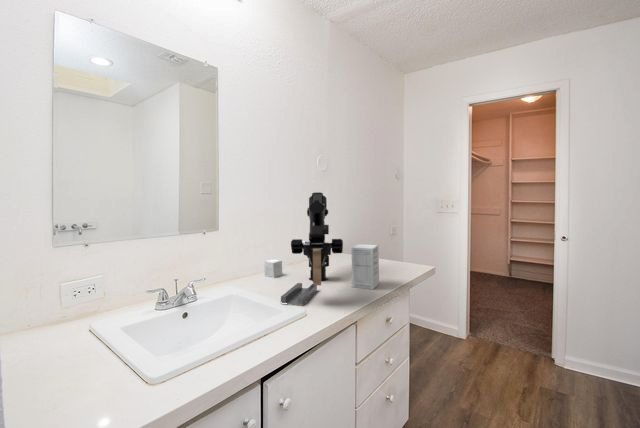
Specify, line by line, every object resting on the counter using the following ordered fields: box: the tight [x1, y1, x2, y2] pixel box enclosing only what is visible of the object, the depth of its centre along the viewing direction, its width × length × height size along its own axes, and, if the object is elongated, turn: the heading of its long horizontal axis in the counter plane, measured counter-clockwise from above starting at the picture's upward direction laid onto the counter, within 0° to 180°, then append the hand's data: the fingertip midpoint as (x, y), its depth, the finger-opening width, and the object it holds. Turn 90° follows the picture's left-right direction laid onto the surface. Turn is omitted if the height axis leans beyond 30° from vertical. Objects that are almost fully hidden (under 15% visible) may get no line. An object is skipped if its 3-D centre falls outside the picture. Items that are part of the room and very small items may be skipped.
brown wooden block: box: [312, 249, 322, 286], centre depth 111 cm, size 4×3×12 cm, turn 0°
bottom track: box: [280, 282, 318, 306], centre depth 118 cm, size 18×8×3 cm, turn 165°
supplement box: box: [351, 243, 380, 290], centre depth 131 cm, size 10×9×17 cm
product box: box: [264, 258, 283, 279], centre depth 150 cm, size 6×6×7 cm
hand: (316, 266), depth 109 cm, fingers closed on brown wooden block, 3 cm apart
